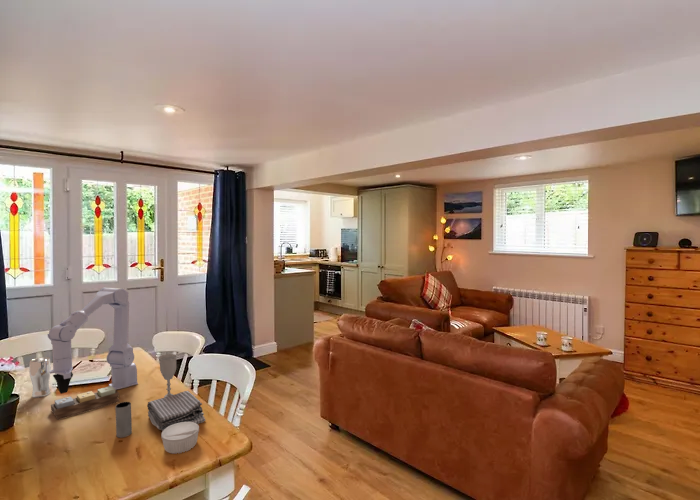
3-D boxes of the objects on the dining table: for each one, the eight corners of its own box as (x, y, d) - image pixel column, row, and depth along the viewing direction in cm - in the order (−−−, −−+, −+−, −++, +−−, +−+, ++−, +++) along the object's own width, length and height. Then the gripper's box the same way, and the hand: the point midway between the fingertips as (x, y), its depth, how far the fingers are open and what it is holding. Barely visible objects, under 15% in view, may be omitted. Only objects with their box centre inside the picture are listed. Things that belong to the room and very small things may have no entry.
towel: (187, 406, 153) (187, 386, 152) (206, 423, 139) (206, 401, 139) (145, 418, 143) (145, 397, 142) (161, 438, 129) (161, 415, 129)
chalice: (155, 402, 155) (154, 358, 154) (169, 395, 161) (168, 353, 160) (169, 405, 152) (167, 360, 151) (182, 398, 159) (181, 355, 158)
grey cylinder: (115, 439, 128) (114, 408, 128) (116, 432, 132) (115, 403, 132) (131, 435, 130) (130, 405, 130) (132, 429, 134) (131, 400, 134)
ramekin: (175, 460, 117) (175, 443, 116) (154, 449, 123) (153, 433, 122) (206, 443, 126) (206, 427, 126) (185, 433, 132) (185, 418, 132)
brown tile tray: (112, 393, 164) (111, 386, 163) (120, 401, 156) (120, 394, 156) (50, 410, 148) (49, 402, 148) (56, 420, 141) (56, 412, 141)
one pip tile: (111, 390, 161) (111, 385, 161) (115, 394, 157) (115, 388, 157) (97, 394, 157) (97, 388, 157) (101, 397, 154) (101, 392, 153)
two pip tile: (91, 395, 156) (91, 390, 155) (95, 399, 152) (95, 394, 152) (76, 399, 152) (76, 394, 152) (80, 403, 148) (79, 398, 148)
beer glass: (56, 391, 166) (54, 356, 165) (41, 398, 159) (40, 362, 158) (41, 390, 166) (39, 356, 165) (26, 397, 159) (24, 361, 159)
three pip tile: (70, 401, 150) (70, 395, 150) (73, 405, 147) (73, 399, 147) (54, 405, 147) (54, 400, 147) (57, 409, 143) (57, 404, 143)
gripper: (45, 355, 148) (46, 390, 149) (53, 364, 138) (54, 401, 139) (67, 351, 153) (68, 384, 154) (77, 359, 143) (78, 395, 144)
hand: (63, 392), depth 147 cm, fingers closed
